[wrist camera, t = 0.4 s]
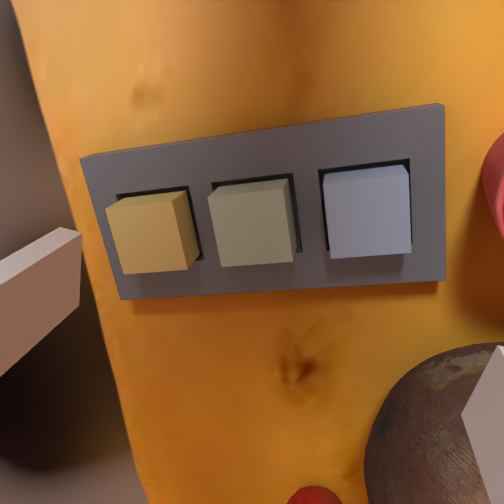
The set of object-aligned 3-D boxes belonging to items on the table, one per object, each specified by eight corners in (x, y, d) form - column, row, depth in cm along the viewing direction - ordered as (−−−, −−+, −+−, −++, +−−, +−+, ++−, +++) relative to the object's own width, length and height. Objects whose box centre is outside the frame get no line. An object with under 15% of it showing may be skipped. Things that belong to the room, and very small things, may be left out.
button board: (93, 153, 41) (79, 158, 39) (437, 103, 34) (444, 105, 32) (131, 288, 46) (121, 300, 44) (440, 268, 39) (445, 280, 37)
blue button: (324, 173, 36) (322, 184, 33) (402, 164, 34) (408, 174, 31) (331, 243, 38) (330, 258, 35) (405, 236, 37) (411, 252, 33)
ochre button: (123, 197, 40) (105, 209, 37) (186, 190, 39) (171, 201, 35) (140, 259, 42) (123, 274, 39) (199, 254, 41) (187, 269, 38)
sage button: (218, 186, 38) (207, 197, 35) (288, 178, 37) (282, 188, 33) (231, 251, 40) (221, 267, 37) (297, 245, 39) (292, 261, 35)
